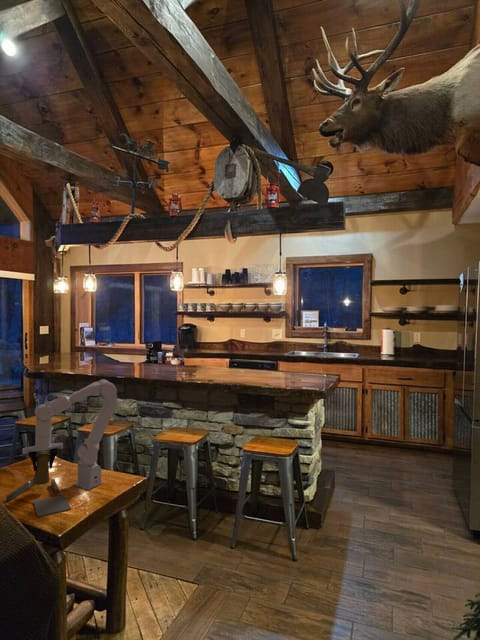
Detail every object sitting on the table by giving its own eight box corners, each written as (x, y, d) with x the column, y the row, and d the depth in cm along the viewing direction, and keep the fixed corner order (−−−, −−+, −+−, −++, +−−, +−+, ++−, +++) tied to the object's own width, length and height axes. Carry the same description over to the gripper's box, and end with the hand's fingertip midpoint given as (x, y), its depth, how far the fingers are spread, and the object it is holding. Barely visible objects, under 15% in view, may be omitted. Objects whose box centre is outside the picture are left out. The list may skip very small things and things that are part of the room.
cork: (37, 478, 166) (39, 451, 166) (52, 479, 166) (54, 452, 166) (29, 484, 160) (31, 455, 160) (44, 485, 160) (47, 457, 160)
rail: (59, 495, 161) (59, 489, 161) (55, 496, 160) (55, 490, 160) (54, 484, 171) (54, 478, 171) (51, 484, 170) (51, 479, 170)
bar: (10, 501, 154) (10, 494, 154) (5, 500, 155) (5, 494, 155) (40, 480, 173) (40, 475, 173) (35, 480, 174) (36, 474, 173)
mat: (71, 509, 150) (71, 508, 150) (37, 517, 144) (37, 515, 144) (64, 495, 161) (64, 494, 161) (33, 502, 155) (33, 501, 155)
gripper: (61, 430, 170) (60, 462, 170) (21, 435, 162) (21, 468, 162) (64, 434, 164) (63, 468, 164) (23, 439, 156) (23, 475, 156)
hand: (42, 468), depth 163 cm, fingers closed on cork, 5 cm apart
